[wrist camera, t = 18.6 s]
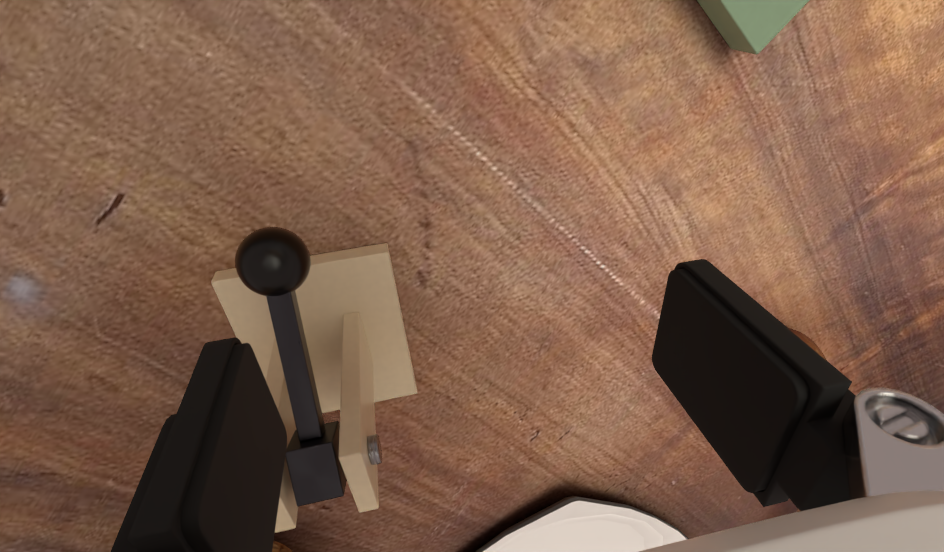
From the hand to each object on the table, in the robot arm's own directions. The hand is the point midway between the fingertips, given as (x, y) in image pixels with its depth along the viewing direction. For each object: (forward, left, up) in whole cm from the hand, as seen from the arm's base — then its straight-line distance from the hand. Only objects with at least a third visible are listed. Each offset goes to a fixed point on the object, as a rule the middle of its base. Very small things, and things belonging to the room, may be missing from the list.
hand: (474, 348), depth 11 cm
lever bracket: (+4, -14, -18) cm, 23 cm away
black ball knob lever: (+1, -11, -12) cm, 16 cm away
